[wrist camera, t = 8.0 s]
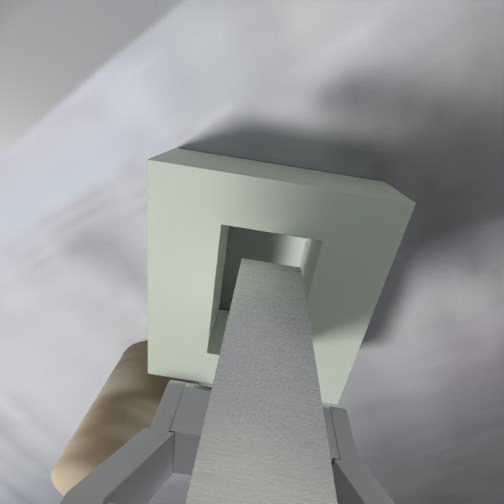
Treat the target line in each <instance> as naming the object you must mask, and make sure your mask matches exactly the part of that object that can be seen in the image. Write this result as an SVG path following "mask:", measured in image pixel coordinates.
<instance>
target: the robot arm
mask: <svg viewBox="0 0 504 504" xmlns="http://www.w3.org/2000/svg"><path fill="white" fill-rule="evenodd" d="M211 390H212V387H207V386H202V385H197V384H192V383H187V382H181V381H175V380H170V381H169V383H168V384H167V387H166V389H165V392H164V394H163V397H162V399H161V402H160V404H159V407H158V409H157V412H156V414H155V417H154V419H153V422H152V425H151V427H150V428H144V429H143V430H142V431H140V432H139V433H138V434H137V435H136V436H134V437H133V438H132V439H131V440H129V441H128V442H127V443H126V444H125V445H123V446H122V447H121V448H120V449H119V450H117V451H116V452H115V453H114V454H113V455H111V456H110V457H109V458H108V459H107V460H105V461H104V462H103V463H102V464H100V465H99V466H98V467H97V468H96V469H94V470H93V471H92V472H91V473H90V474H88V475H87V476H86V477H85V478H84V479H82V480H81V481H80V482H79V483H77V484H76V485H75V486H74V487H73V488H71V489H70V490H69V491H68V492H67V493H66V494H65V496H64V498H63V500H62V501H61V503H60V504H147V503H148V502H149V501H150V500H151V499H152V497H153V496H154V495H155V494H156V493H157V492H158V490H159V489H160V488H161V487H162V486H163V485H164V483H165V482H166V481H167V480H168V479H169V477H170V476H171V475H172V472H173V473H180V474H188V475H192V473H193V468H194V464H195V460H196V455H197V451H198V446H199V442H200V438H201V433H202V429H203V425H204V420H205V416H206V412H207V407H208V403H209V399H210V394H211ZM322 406H323V412H324V419H325V425H326V432H327V438H328V445H329V451H330V457H331V464H332V470H333V477H334V483H335V490H336V496H337V503H338V504H395V503H394V502H393V501H392V500H391V498H390V497H389V496H388V494H387V493H386V492H385V491H384V489H383V488H382V487H381V485H380V484H379V483H378V482H377V480H376V479H375V478H374V476H373V475H372V474H371V473H370V471H369V470H368V469H367V467H366V466H365V465H364V464H360V463H359V461H358V457H357V453H356V449H355V444H354V440H353V436H352V432H351V427H350V423H349V419H348V415H347V412H346V410H345V409H342V408H336V407H330V406H329V407H328V406H326V405H322Z"/></svg>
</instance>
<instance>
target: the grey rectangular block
mask: <svg viewBox="0 0 504 504" xmlns="http://www.w3.org/2000/svg"><path fill="white" fill-rule="evenodd" d="M185 504H338V503H337V496H336V490H335V483H334V477H333V470H332V464H331V457H330V451H329V445H328V438H327V432H326V425H325V419H324V412H323V406H322V399H321V393H320V386H319V380H318V373H317V367H316V360H315V354H314V348H313V341H312V335H311V328H310V322H309V315H308V309H307V302H306V296H305V289H304V283H303V276H302V270H301V268H299V267H293V266H287V265H281V264H275V263H269V262H263V261H257V260H251V259H245V258H242V259H241V263H240V268H239V272H238V277H237V281H236V285H235V290H234V294H233V298H232V303H231V307H230V311H229V316H228V320H227V324H226V329H225V333H224V338H223V342H222V346H221V351H220V355H219V359H218V364H217V368H216V372H215V377H214V381H213V385H212V390H211V394H210V399H209V403H208V407H207V412H206V416H205V420H204V425H203V429H202V433H201V438H200V442H199V446H198V451H197V455H196V460H195V464H194V468H193V473H192V477H191V481H190V486H189V490H188V494H187V499H186V503H185Z"/></svg>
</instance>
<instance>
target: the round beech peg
mask: <svg viewBox="0 0 504 504" xmlns="http://www.w3.org/2000/svg"><path fill="white" fill-rule="evenodd" d="M170 380H175V381H181V382H186V380H185V379H179V378H173V377H166V376H160V375H154V374H148V341H146V342H139V343H136V344H134V345H132V346H130V347H129V348H128V349H127V350H126V351H125V352H124V354H123V356H122V357H121V359H120V360H119V362H118V364H117V365H116V367H115V369H114V370H113V372H112V373H111V375H110V377H109V378H108V380H107V382H106V383H105V385H104V386H103V388H102V390H101V391H100V393H99V394H98V396H97V398H96V399H95V401H94V403H93V404H92V406H91V407H90V409H89V411H88V412H87V414H86V416H85V417H84V419H83V420H82V422H81V424H80V425H79V427H78V428H77V430H76V432H75V433H74V435H73V437H72V438H71V440H70V441H69V443H68V445H67V446H66V448H65V450H64V451H63V453H62V454H61V456H60V458H59V459H58V461H57V462H56V464H55V466H54V467H53V469H52V472H51V479H52V482H53V484H54V486H55V487H56V489H57V490H58V491H59V492H60V493H61V494H62V495H63V496H65V494H66V493H67V492H68V491H69V490H70V489H71V488H73V487H74V486H75V485H76V484H77V483H79V482H80V481H81V480H82V479H84V478H85V477H86V476H87V475H88V474H90V473H91V472H92V471H93V470H94V469H96V468H97V467H98V466H99V465H100V464H102V463H103V462H104V461H105V460H107V459H108V458H109V457H110V456H111V455H113V454H114V453H115V452H116V451H117V450H119V449H120V448H121V447H122V446H123V445H125V444H126V443H127V442H128V441H129V440H131V439H132V438H133V437H134V436H136V435H137V434H138V433H139V432H140V431H142V430H143V429H144V428H150V427H151V425H152V422H153V419H154V417H155V414H156V412H157V409H158V407H159V404H160V402H161V399H162V397H163V394H164V392H165V389H166V387H167V384H168V383H169V381H170Z"/></svg>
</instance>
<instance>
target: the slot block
mask: <svg viewBox="0 0 504 504" xmlns="http://www.w3.org/2000/svg"><path fill="white" fill-rule="evenodd" d="M415 205H416V203H415V202H413V201H412V200H410V199H409V198H408V197H406V196H405V195H403V194H402V193H400V192H399V191H397V190H396V189H394V188H393V187H392V186H390V185H389V184H387V183H386V182H383V181H377V180H371V179H365V178H359V177H352V176H346V175H340V174H334V173H328V172H322V171H316V170H309V169H303V168H297V167H291V166H285V165H279V164H273V163H266V162H260V161H254V160H248V159H242V158H236V157H230V156H223V155H217V154H211V153H205V152H199V151H193V150H187V149H180V148H175V149H172V150H170V151H167V152H165V153H162V154H160V155H157V156H155V157H153V158H150V159H148V160H147V243H148V374H154V375H160V376H166V377H173V378H179V379H185V380H191V381H197V382H203V383H209V384H213V381H214V377H215V372H216V368H217V364H218V359H219V355H220V351H221V346H222V342H223V338H224V333H225V329H226V324H227V320H228V316H229V311H227V310H221V309H219V308H220V300H221V291H222V283H223V275H224V267H225V259H226V250H227V242H228V234H229V226H234V227H241V228H247V229H253V230H259V231H265V232H271V233H277V234H283V235H290V236H296V237H302V238H307V239H306V243H305V248H304V252H303V256H302V260H301V264H300V268H301V270H302V276H303V283H304V289H305V296H306V302H307V309H308V315H309V322H310V328H311V335H312V341H313V348H314V354H315V360H316V367H317V373H318V380H319V386H320V393H321V399H322V402H325V403H331V404H338V402H339V399H340V397H341V394H342V392H343V389H344V387H345V384H346V381H347V379H348V376H349V374H350V371H351V369H352V366H353V363H354V361H355V358H356V356H357V353H358V351H359V348H360V346H361V343H362V340H363V338H364V335H365V333H366V330H367V328H368V325H369V323H370V320H371V317H372V315H373V312H374V310H375V307H376V305H377V302H378V300H379V297H380V294H381V292H382V289H383V287H384V284H385V282H386V279H387V277H388V274H389V271H390V269H391V266H392V264H393V261H394V259H395V256H396V254H397V251H398V248H399V246H400V243H401V241H402V238H403V236H404V233H405V231H406V228H407V225H408V223H409V220H410V218H411V215H412V213H413V210H414V208H415Z"/></svg>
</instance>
